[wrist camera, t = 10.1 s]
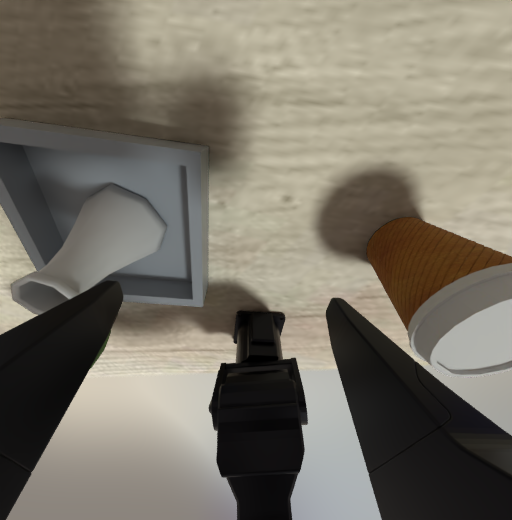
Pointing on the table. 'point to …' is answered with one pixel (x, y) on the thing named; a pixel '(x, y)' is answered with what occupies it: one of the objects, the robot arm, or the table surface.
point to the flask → (94, 248)
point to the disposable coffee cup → (447, 296)
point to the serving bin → (97, 178)
